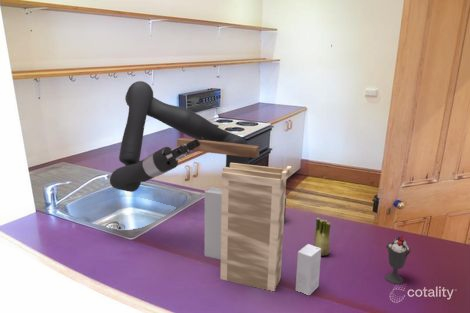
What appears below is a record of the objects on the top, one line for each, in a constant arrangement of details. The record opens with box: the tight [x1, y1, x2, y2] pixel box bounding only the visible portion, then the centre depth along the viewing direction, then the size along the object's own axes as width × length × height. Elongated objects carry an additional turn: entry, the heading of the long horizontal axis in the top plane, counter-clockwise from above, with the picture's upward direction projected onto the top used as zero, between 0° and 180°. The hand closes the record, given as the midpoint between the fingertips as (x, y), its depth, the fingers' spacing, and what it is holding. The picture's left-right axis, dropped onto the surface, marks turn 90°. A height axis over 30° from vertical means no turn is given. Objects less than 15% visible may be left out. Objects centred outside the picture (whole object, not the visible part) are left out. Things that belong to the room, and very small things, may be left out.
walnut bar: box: [176, 137, 260, 159], centre depth 108 cm, size 3×26×3 cm, turn 69°
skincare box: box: [295, 243, 322, 296], centre depth 97 cm, size 6×4×12 cm
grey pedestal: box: [204, 186, 222, 261], centre depth 113 cm, size 5×8×22 cm, turn 69°
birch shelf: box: [220, 163, 293, 292], centre depth 98 cm, size 7×17×34 cm, turn 69°
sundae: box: [384, 234, 412, 285], centre depth 102 cm, size 7×7×15 cm
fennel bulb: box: [314, 217, 332, 257], centre depth 117 cm, size 6×5×12 cm
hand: (201, 141), depth 109 cm, fingers closed on walnut bar, 3 cm apart
